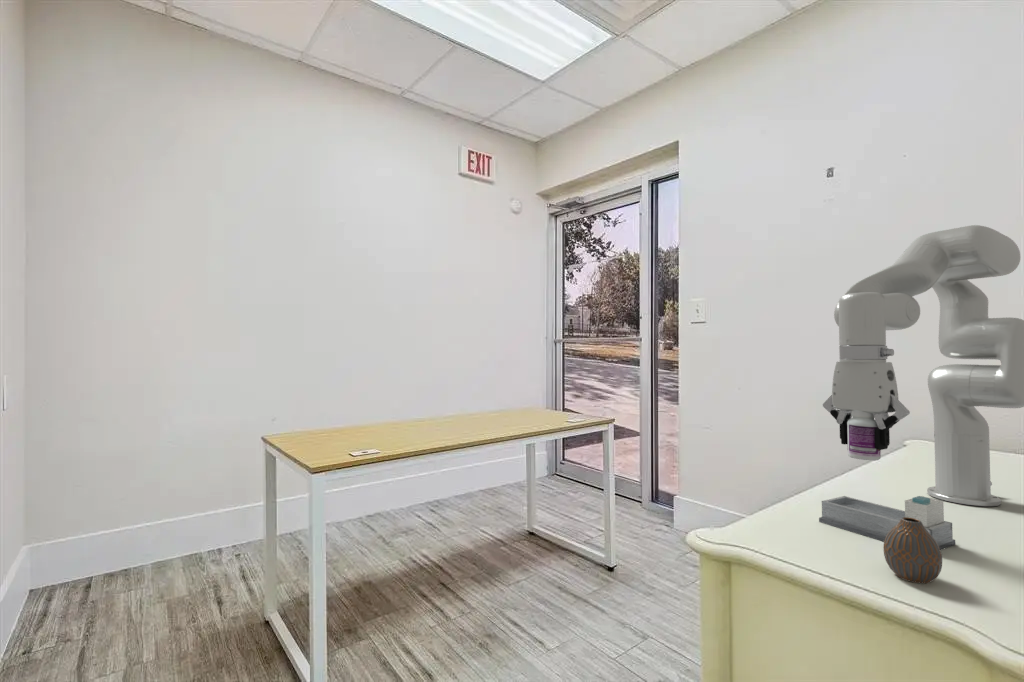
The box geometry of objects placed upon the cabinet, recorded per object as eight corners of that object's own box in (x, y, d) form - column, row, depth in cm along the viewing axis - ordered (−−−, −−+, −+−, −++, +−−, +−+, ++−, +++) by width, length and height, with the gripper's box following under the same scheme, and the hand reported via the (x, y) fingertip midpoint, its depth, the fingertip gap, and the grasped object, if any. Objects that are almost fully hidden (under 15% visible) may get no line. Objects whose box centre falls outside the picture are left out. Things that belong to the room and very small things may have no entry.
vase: (872, 568, 76) (871, 512, 76) (912, 566, 77) (911, 511, 77) (912, 589, 69) (911, 528, 69) (956, 587, 70) (954, 527, 70)
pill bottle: (886, 461, 91) (886, 411, 91) (855, 460, 92) (855, 410, 92) (871, 455, 96) (871, 407, 97) (842, 454, 98) (841, 407, 98)
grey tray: (847, 514, 102) (846, 474, 102) (955, 544, 86) (954, 497, 86) (819, 521, 97) (818, 480, 97) (927, 554, 81) (926, 505, 81)
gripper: (924, 355, 89) (926, 452, 88) (828, 354, 104) (829, 438, 104) (903, 355, 86) (905, 456, 85) (807, 354, 101) (808, 440, 100)
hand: (863, 445), depth 94 cm, fingers closed on pill bottle, 5 cm apart
